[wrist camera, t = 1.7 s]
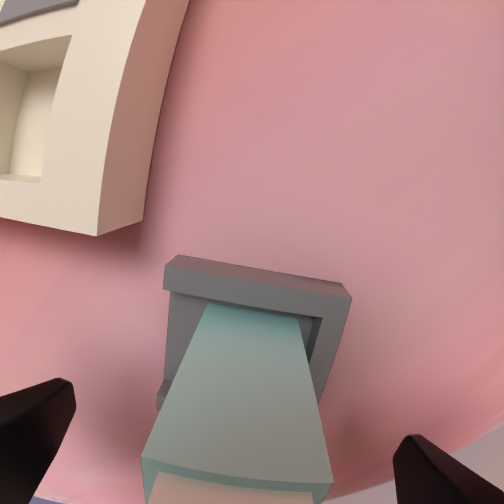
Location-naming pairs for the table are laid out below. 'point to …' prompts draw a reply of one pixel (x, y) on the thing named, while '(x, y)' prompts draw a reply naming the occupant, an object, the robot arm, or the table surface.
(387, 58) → the table surface
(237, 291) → the holster
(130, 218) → the port block
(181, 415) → the plug
